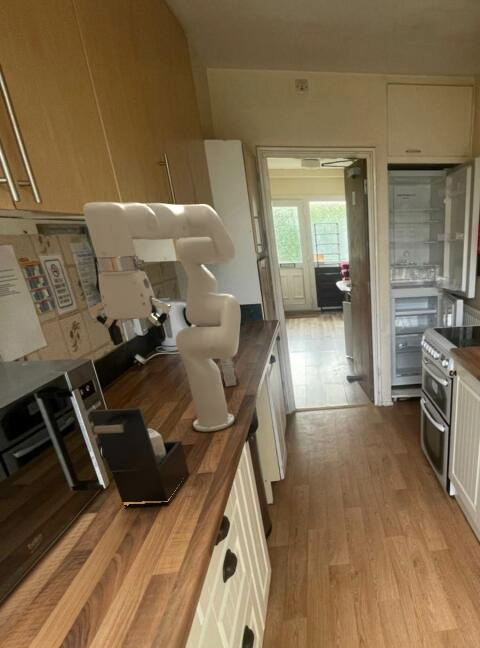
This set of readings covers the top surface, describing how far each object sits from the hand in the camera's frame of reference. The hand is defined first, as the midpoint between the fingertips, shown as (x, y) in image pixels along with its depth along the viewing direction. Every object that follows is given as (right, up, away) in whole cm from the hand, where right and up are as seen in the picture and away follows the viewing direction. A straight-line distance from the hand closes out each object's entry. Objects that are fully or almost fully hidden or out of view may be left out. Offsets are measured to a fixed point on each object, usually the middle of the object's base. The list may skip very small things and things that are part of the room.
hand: (140, 343), depth 100 cm
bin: (+2, -35, +5) cm, 36 cm away
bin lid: (+2, -22, -8) cm, 24 cm away
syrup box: (+2, -35, +5) cm, 35 cm away
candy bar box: (-7, -3, +77) cm, 77 cm away
